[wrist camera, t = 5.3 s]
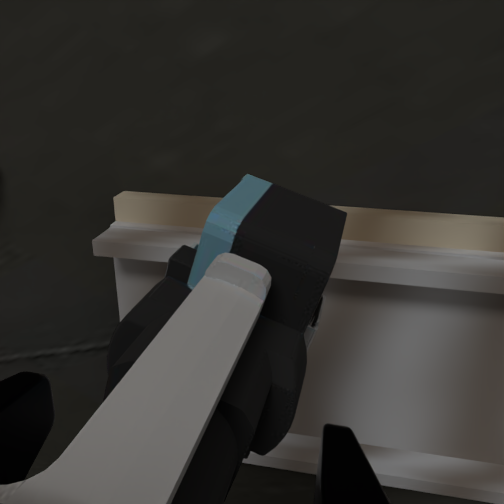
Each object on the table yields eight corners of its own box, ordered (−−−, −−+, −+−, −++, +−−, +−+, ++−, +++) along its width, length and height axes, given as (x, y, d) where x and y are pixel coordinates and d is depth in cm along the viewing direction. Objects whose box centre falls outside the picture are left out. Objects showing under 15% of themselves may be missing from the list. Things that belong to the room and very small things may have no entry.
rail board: (594, 223, 17) (642, 255, 14) (515, 471, 22) (540, 531, 19) (123, 190, 20) (88, 212, 17) (144, 415, 24) (118, 460, 22)
